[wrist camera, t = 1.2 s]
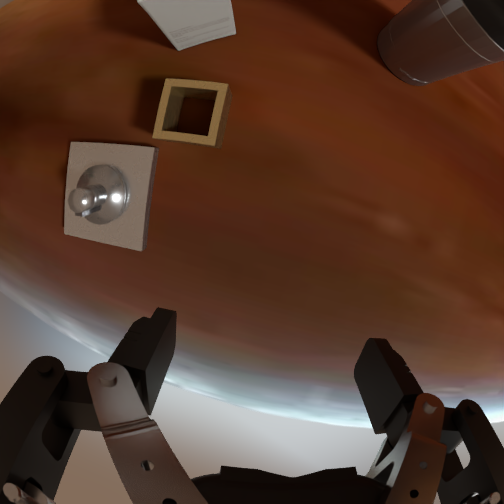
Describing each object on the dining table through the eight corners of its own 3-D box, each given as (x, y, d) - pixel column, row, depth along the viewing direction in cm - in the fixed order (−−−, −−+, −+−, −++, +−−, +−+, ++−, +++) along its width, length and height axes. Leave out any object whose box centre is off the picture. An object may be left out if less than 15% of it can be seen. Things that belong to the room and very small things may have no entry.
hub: (178, 90, 27) (165, 78, 22) (232, 96, 27) (228, 84, 22) (167, 141, 28) (152, 137, 24) (221, 148, 29) (214, 145, 24)
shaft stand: (77, 142, 28) (43, 141, 21) (159, 148, 29) (134, 145, 22) (70, 231, 32) (39, 246, 25) (146, 247, 32) (122, 268, 26)
